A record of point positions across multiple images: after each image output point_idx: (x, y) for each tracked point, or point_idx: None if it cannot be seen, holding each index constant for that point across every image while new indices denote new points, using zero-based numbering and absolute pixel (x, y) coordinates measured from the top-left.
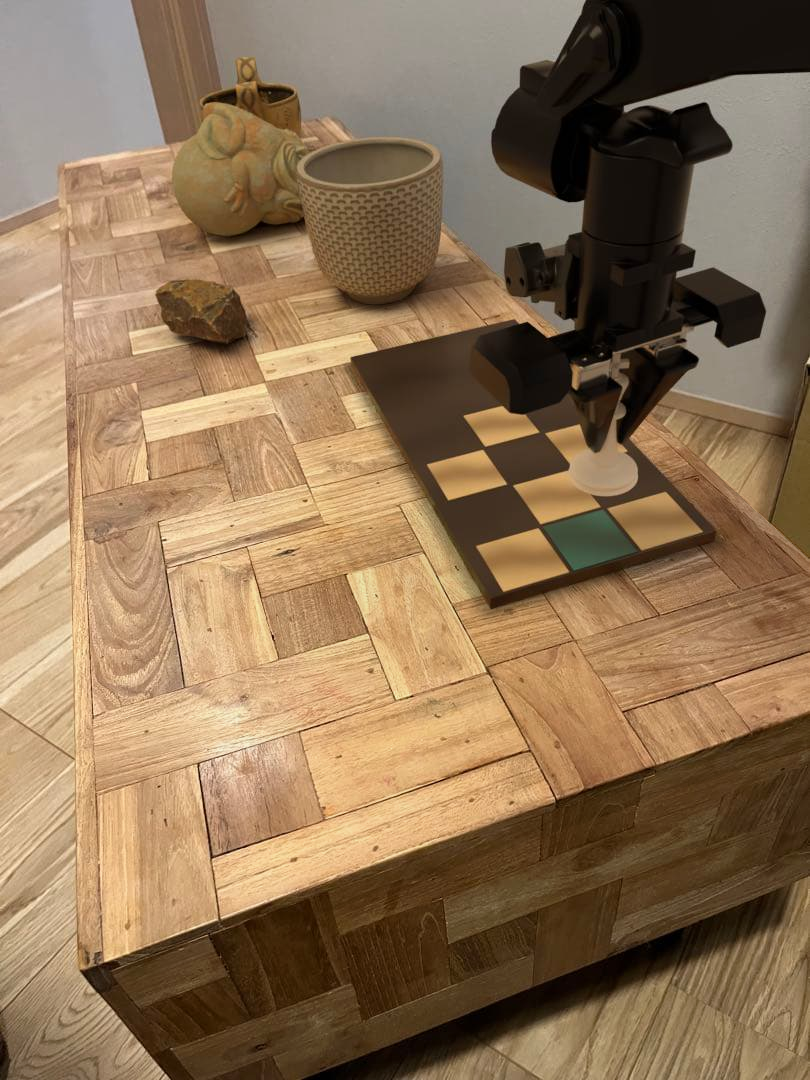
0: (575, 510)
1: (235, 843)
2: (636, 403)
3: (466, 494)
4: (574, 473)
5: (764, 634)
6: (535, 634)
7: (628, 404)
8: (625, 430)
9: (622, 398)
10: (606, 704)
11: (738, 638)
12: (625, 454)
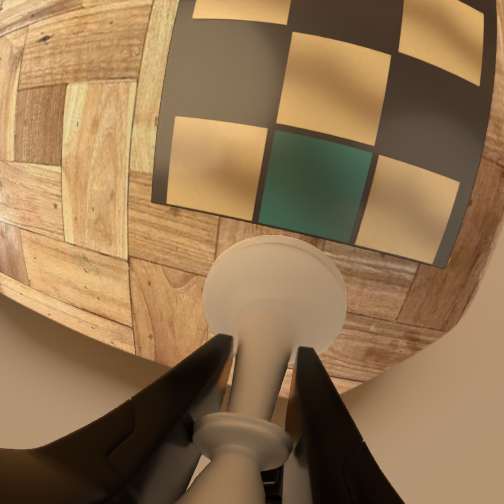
0: (338, 129)
1: (2, 270)
2: (286, 499)
3: (220, 17)
4: (204, 295)
5: (362, 360)
6: (183, 251)
7: (291, 471)
8: (286, 416)
9: (295, 462)
10: (199, 337)
11: (342, 353)
12: (337, 318)
